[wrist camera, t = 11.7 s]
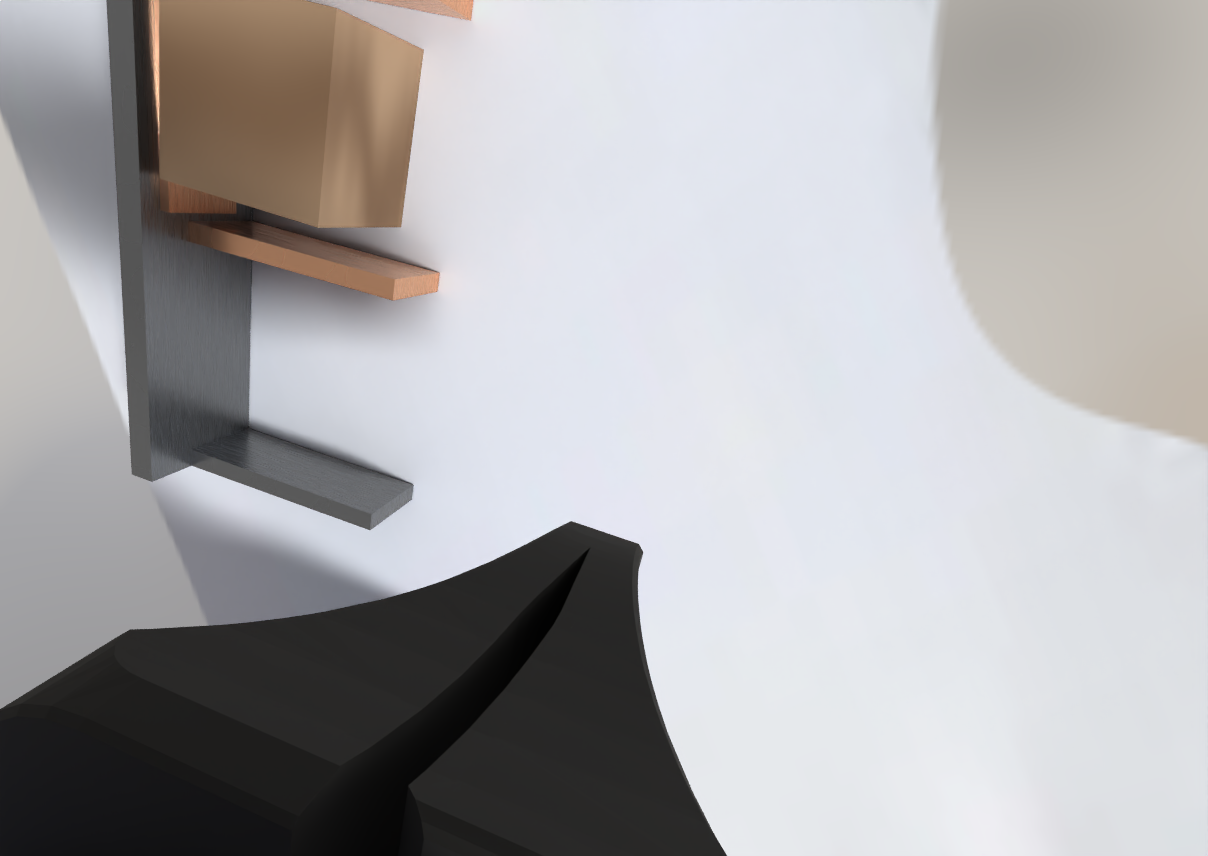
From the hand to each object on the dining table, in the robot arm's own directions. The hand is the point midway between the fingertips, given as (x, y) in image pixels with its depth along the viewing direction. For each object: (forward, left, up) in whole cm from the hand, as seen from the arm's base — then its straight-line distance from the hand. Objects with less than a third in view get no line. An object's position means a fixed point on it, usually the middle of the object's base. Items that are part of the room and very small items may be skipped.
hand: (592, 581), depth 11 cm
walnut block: (+6, +13, -10) cm, 17 cm away
